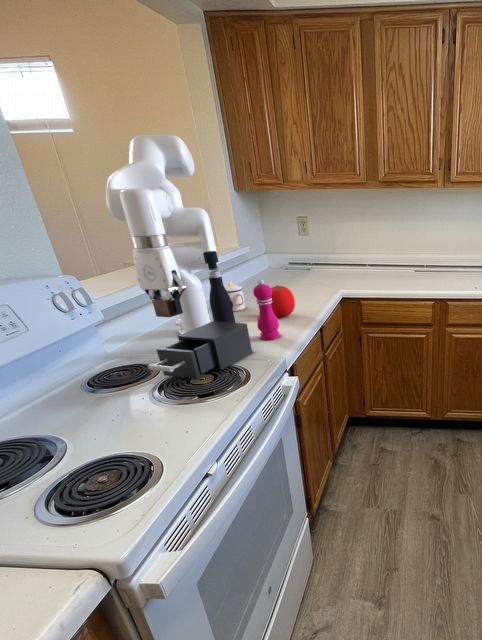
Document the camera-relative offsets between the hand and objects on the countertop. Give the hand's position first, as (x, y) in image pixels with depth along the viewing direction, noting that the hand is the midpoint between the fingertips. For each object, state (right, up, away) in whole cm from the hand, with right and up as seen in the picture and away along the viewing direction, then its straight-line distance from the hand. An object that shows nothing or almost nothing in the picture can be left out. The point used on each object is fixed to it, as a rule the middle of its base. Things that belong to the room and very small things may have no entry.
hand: (169, 313), depth 111 cm
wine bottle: (+4, -6, +30) cm, 30 cm away
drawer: (+3, -16, +6) cm, 17 cm away
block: (0, 0, 0) cm, 0 cm away
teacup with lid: (-10, +12, +71) cm, 73 cm away
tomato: (+13, +7, +58) cm, 60 cm away
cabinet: (+6, -12, +16) cm, 21 cm away
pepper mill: (+16, -3, +35) cm, 38 cm away
